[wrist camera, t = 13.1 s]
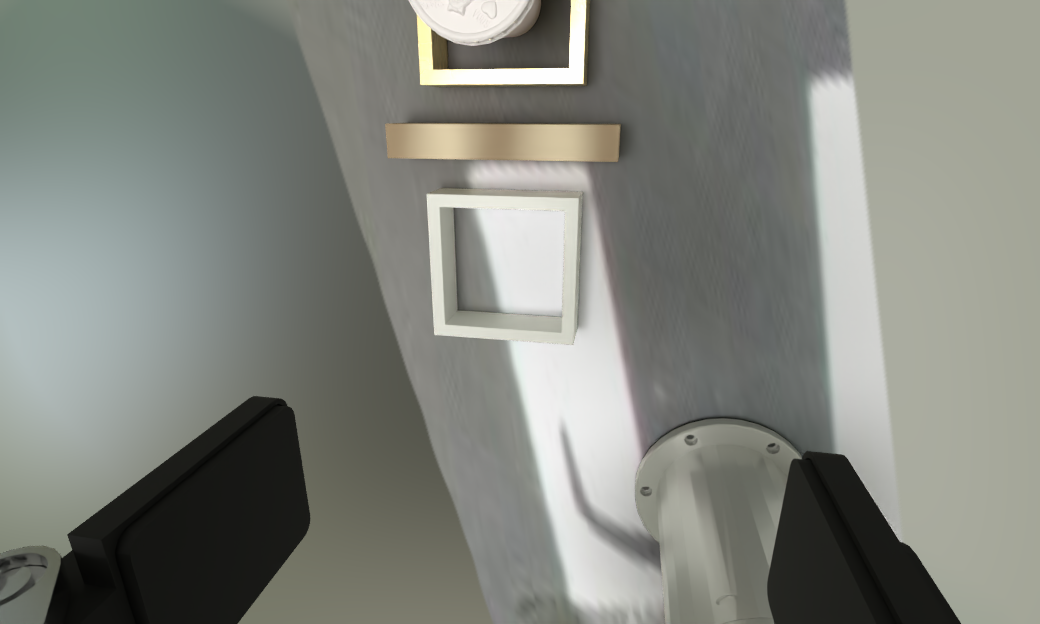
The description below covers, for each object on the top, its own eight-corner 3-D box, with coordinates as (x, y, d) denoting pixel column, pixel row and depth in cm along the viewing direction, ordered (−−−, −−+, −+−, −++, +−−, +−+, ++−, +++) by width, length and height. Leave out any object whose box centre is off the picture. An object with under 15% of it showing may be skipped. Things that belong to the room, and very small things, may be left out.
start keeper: (582, 191, 36) (578, 198, 33) (577, 328, 39) (573, 344, 37) (441, 188, 38) (426, 194, 35) (447, 319, 41) (434, 334, 38)
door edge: (620, 123, 34) (619, 125, 31) (619, 157, 35) (617, 161, 32) (407, 122, 37) (385, 123, 33) (409, 154, 37) (387, 157, 34)
